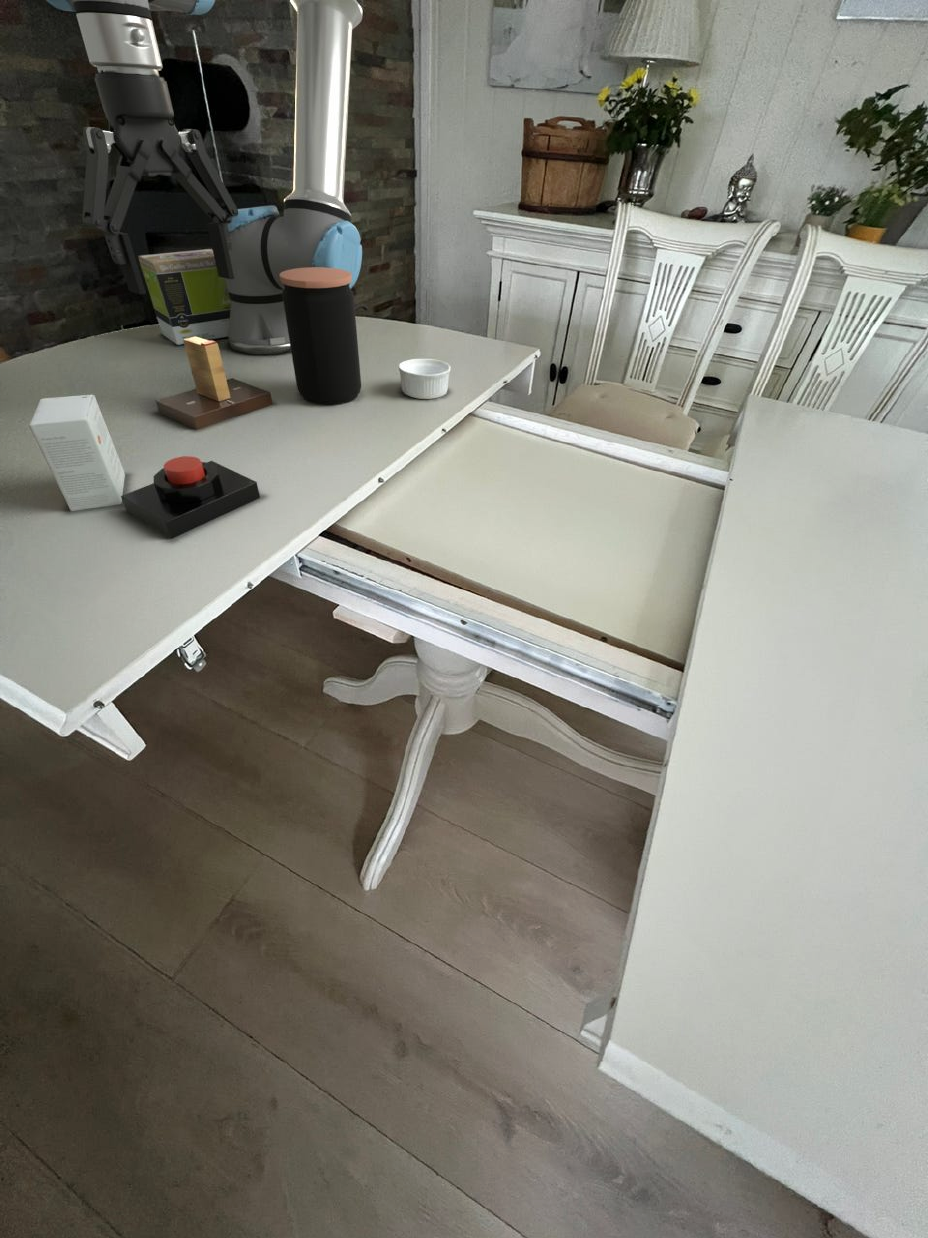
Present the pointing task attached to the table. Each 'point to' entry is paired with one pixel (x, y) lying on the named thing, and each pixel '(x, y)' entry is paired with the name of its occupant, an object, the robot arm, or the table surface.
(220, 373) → the handle
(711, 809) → the table surface
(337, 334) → the coffee jar
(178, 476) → the button
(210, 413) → the panel
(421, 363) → the ramekin
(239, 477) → the button block
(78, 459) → the small box
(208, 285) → the tea box
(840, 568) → the table surface
